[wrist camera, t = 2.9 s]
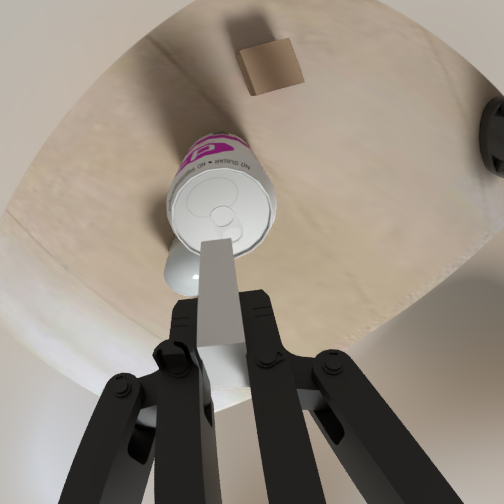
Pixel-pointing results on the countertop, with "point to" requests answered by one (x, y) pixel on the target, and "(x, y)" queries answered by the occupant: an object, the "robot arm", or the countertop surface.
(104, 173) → the countertop surface
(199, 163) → the supplement can
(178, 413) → the robot arm
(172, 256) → the white rounded cylinder
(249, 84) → the walnut block
